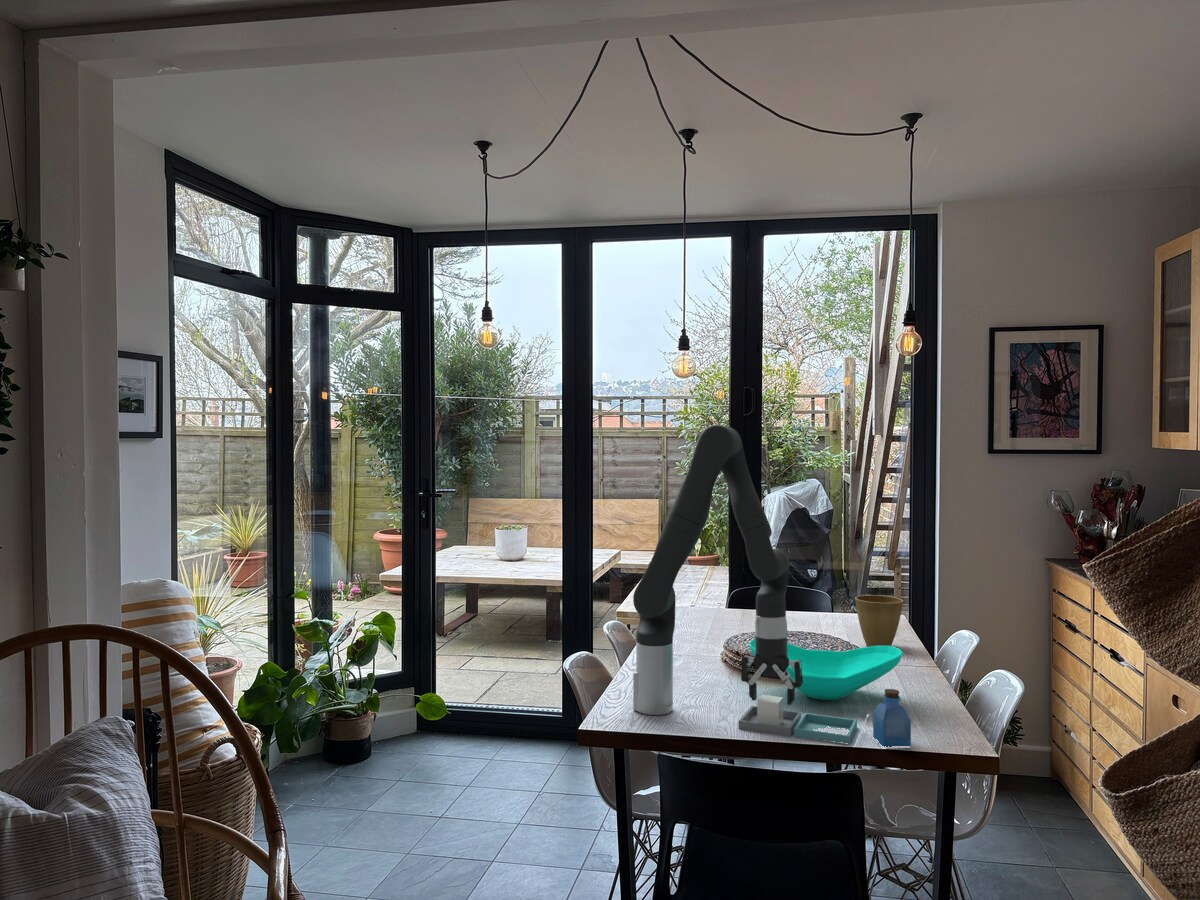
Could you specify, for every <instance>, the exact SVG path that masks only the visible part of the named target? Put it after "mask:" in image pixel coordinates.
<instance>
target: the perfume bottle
mask: <svg viewBox="0 0 1200 900" xmlns="http://www.w3.org/2000/svg"><path fill="white" fill-rule="evenodd" d="M899 694H900V690H898V689H894V688H886V689H884V694H883V702H879V704H878V705H877V706H876V708H875V709H874V710H873V711H872V712H873V713H872V714H873V715H872V719H873V720H872V723H873V724H872V727H873V729H872V730H873V731H872V738H873V737H874V738H875V739H877V740H878V741H879V743H880V744H881V745H882V746H884V747H885V746H886V747H888V746H889V747H892V746H912V735H911V733H912V721H911V719H910V717H909V715H908V713H907V711H906V710H905V708H904V707H903V706H902V705H900V702H901V696H900V695H899Z"/></svg>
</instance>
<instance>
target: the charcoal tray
mask: <svg viewBox="0 0 1200 900" xmlns="http://www.w3.org/2000/svg"><path fill="white" fill-rule="evenodd" d="M801 717H802V712H801V711H794V710H786V709H783V723H782V724H781V726H778V725H771V724H764V723H757V705H751V706H750V707H749V708H748V709H747V710H746V711H745V712H744V713H743V715H742V716H741V717H740V718H739V719H738V722H737V723H738V724H737V726H738V729H739V730H740V729H741V730H746V731H753V732H758V733H759V732H760V733H765V734H766V733H767V734H774V735H779V736H787V737H792V734H794V728H795V726H796V725H797V723H798V722H799V720H800V719H801Z"/></svg>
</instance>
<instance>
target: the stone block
mask: <svg viewBox="0 0 1200 900" xmlns="http://www.w3.org/2000/svg"><path fill="white" fill-rule="evenodd" d="M756 700H757V699H756ZM756 706H757V723H764V724H771V725H778V726H781V724H782V723H783V710H784V697H782V696H775V695H769V694H768V695H767V694H762V695H761V696H760V697H759V698H758V700H757V705H756Z"/></svg>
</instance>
